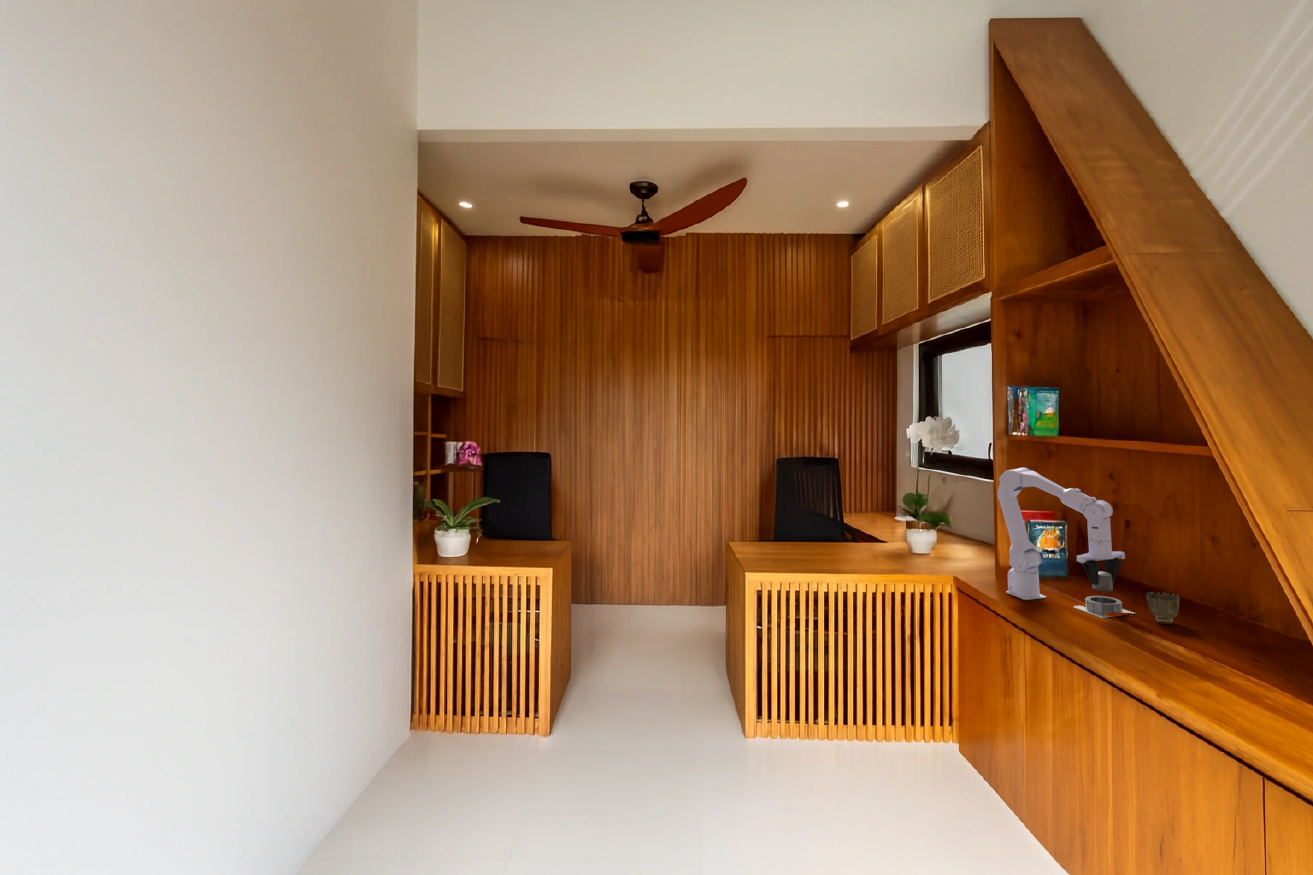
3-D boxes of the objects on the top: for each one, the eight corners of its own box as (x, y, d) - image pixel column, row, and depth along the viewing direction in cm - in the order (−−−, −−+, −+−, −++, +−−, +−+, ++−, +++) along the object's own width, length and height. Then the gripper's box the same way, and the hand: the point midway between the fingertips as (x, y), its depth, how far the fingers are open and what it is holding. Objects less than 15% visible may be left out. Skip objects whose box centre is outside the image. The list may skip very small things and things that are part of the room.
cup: (1178, 628, 165) (1176, 600, 164) (1145, 623, 170) (1143, 595, 170) (1183, 621, 169) (1182, 594, 169) (1150, 616, 175) (1149, 589, 175)
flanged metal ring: (1073, 607, 187) (1072, 596, 187) (1104, 604, 188) (1104, 593, 188) (1102, 618, 176) (1102, 607, 176) (1136, 614, 177) (1135, 603, 177)
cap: (1088, 587, 184) (1087, 571, 184) (1102, 586, 185) (1101, 570, 185) (1102, 591, 179) (1102, 575, 179) (1116, 590, 180) (1116, 574, 180)
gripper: (1088, 544, 177) (1091, 588, 177) (1132, 540, 178) (1135, 584, 179) (1070, 540, 184) (1072, 582, 184) (1112, 536, 185) (1115, 578, 186)
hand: (1102, 583), depth 182 cm, fingers closed on cap, 5 cm apart
